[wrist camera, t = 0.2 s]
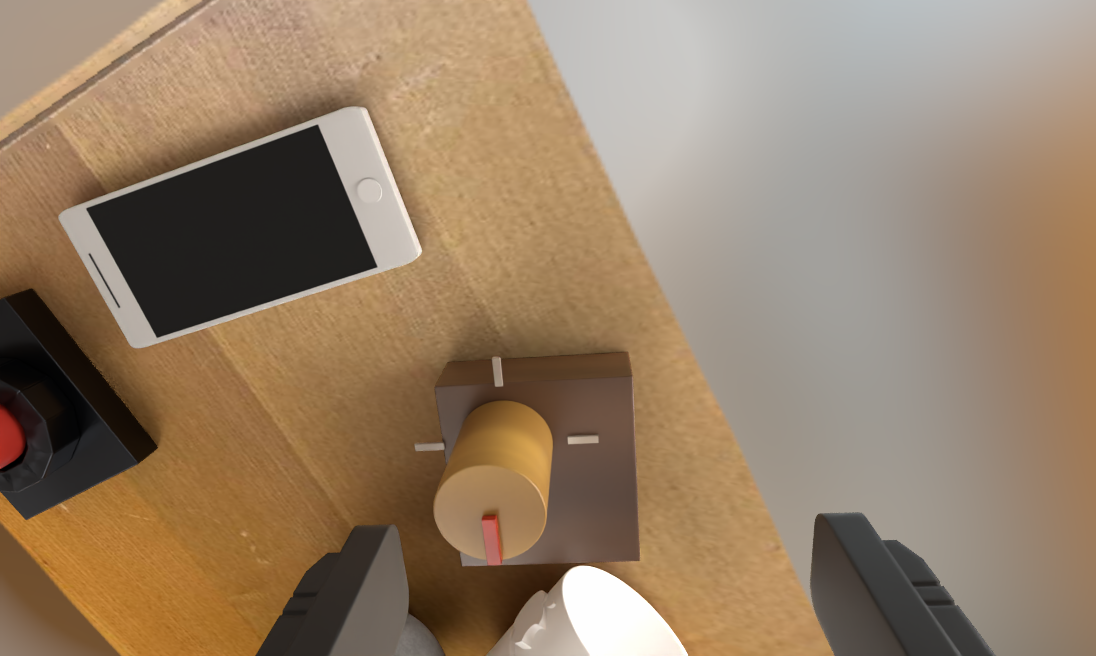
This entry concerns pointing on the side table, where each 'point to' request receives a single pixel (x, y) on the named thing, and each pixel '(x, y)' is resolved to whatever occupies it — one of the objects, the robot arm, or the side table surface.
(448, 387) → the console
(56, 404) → the button box
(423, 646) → the decorative ball
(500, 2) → the side table surface
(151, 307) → the smartphone
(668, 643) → the mug
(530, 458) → the knob
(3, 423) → the button
